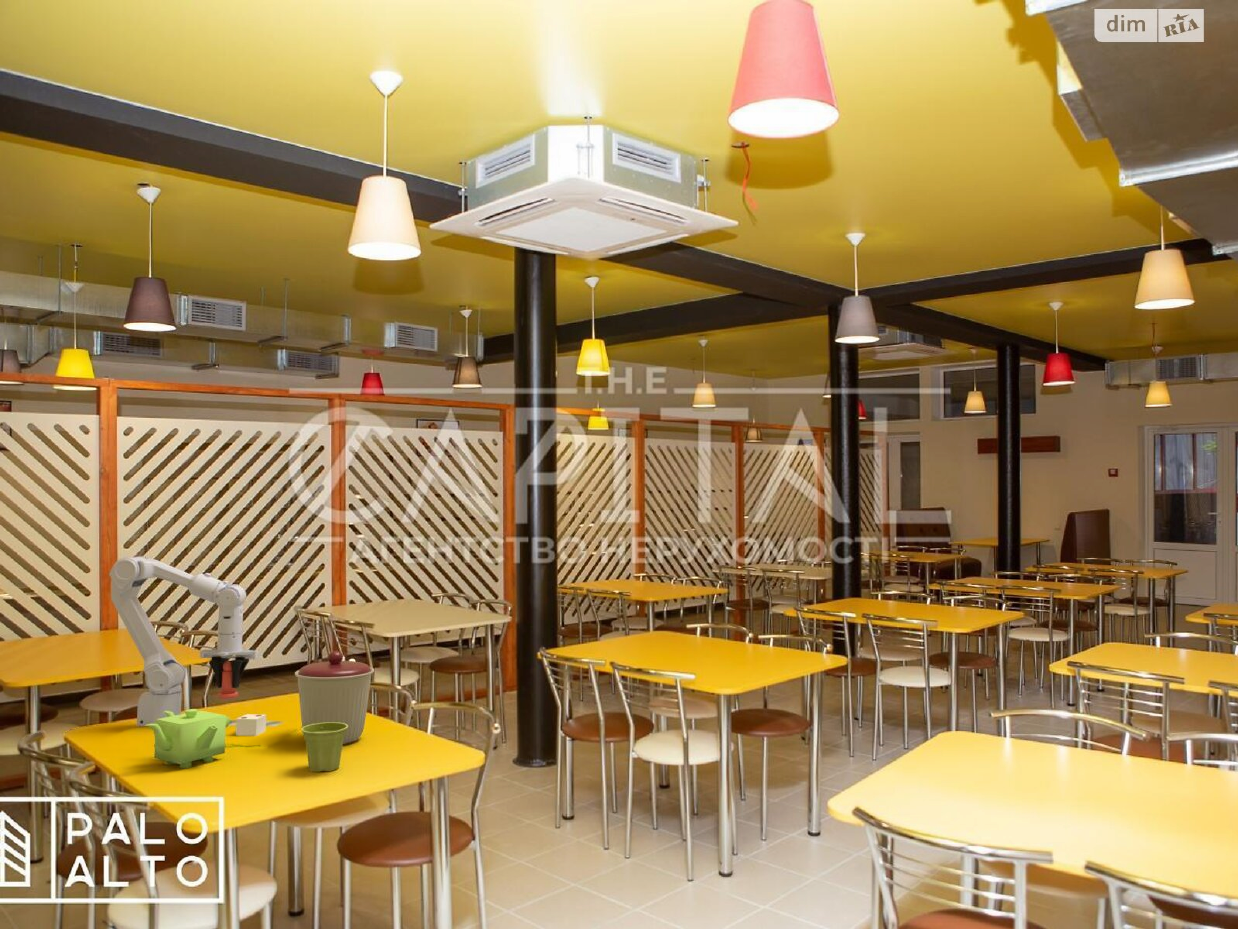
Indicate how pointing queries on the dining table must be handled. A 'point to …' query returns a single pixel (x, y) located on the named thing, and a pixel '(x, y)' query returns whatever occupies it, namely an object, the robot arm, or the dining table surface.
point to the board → (268, 723)
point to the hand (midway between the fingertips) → (228, 687)
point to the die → (250, 725)
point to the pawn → (227, 683)
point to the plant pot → (324, 745)
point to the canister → (335, 693)
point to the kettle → (189, 737)
